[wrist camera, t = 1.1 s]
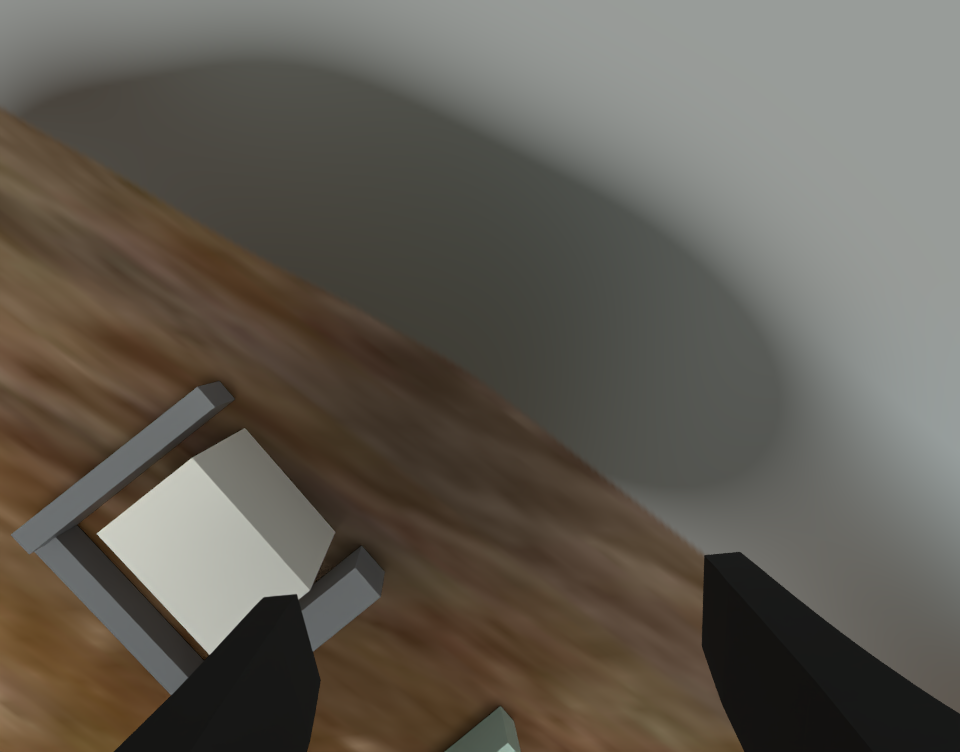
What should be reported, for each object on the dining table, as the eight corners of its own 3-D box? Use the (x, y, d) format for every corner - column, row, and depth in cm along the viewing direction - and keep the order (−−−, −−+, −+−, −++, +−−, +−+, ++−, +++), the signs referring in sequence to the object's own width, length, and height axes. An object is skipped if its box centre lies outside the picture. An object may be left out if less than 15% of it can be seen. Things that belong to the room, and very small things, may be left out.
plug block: (264, 588, 27) (218, 664, 21) (171, 486, 26) (96, 533, 20) (335, 531, 27) (310, 590, 21) (245, 427, 26) (192, 457, 20)
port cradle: (353, 852, 28) (346, 903, 26) (41, 522, 26) (0, 543, 23) (513, 721, 28) (522, 759, 26) (219, 380, 26) (197, 386, 23)
